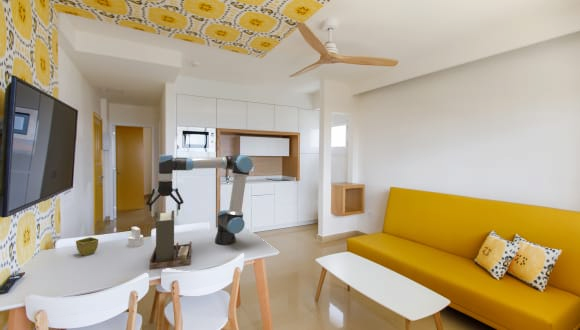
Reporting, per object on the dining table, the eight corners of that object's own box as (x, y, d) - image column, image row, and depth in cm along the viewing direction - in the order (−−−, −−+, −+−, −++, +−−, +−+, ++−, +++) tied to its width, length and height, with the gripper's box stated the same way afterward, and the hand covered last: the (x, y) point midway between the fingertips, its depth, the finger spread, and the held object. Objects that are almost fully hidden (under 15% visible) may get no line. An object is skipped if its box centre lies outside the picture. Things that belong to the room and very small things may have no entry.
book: (173, 267, 155) (174, 219, 152) (155, 269, 151) (155, 220, 149) (174, 252, 174) (174, 210, 172) (158, 254, 171) (158, 211, 168)
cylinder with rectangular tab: (145, 245, 186) (145, 228, 186) (130, 248, 180) (130, 230, 179) (140, 242, 192) (140, 225, 192) (126, 245, 186) (126, 228, 185)
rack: (191, 249, 180) (191, 240, 180) (190, 266, 154) (190, 256, 153) (156, 252, 173) (156, 243, 173) (149, 271, 147) (149, 260, 146)
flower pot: (99, 253, 170) (99, 239, 170) (83, 257, 163) (83, 243, 162) (90, 250, 174) (90, 236, 174) (75, 255, 166) (75, 240, 166)
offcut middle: (188, 251, 174) (188, 248, 174) (187, 261, 158) (187, 258, 158) (180, 252, 172) (180, 249, 172) (177, 262, 157) (177, 259, 157)
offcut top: (189, 248, 174) (189, 245, 173) (186, 258, 158) (186, 255, 158) (180, 249, 172) (180, 246, 172) (177, 259, 157) (177, 255, 157)
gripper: (188, 179, 167) (187, 213, 168) (143, 179, 159) (142, 215, 160) (187, 181, 160) (187, 216, 161) (140, 181, 152) (140, 218, 153)
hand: (165, 215), depth 161 cm, fingers open, 13 cm apart
